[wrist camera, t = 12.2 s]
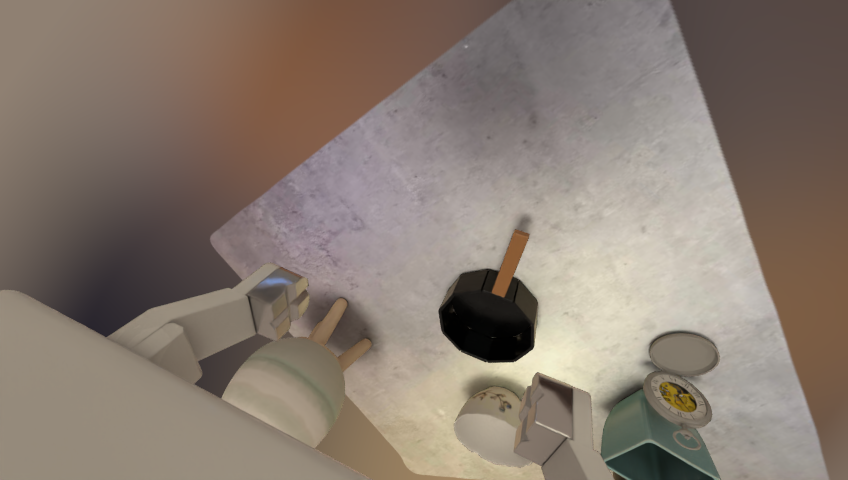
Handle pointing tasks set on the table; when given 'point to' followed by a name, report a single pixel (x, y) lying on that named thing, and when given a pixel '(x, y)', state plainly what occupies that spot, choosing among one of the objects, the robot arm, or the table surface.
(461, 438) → the white floral bowl
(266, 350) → the planter
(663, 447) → the flower pot
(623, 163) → the table surface
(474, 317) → the saucepan
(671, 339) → the pocket watch
